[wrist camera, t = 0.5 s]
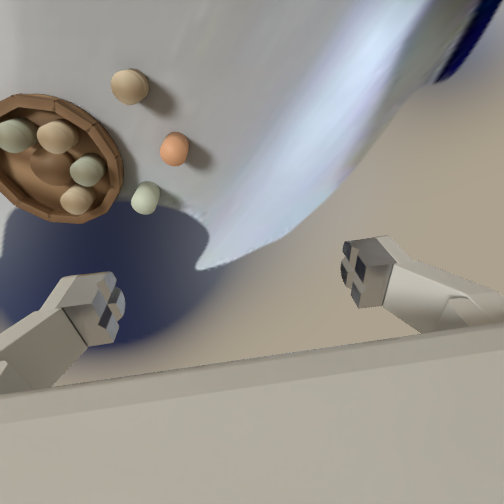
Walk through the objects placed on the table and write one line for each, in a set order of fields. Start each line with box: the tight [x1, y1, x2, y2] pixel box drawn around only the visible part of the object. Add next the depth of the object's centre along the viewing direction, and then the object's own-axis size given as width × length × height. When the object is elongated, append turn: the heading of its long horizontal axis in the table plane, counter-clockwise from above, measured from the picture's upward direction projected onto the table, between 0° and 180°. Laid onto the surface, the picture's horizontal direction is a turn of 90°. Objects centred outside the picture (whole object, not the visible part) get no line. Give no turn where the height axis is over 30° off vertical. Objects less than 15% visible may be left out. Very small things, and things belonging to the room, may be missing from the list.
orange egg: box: [160, 132, 189, 166], centre depth 46 cm, size 4×4×5 cm
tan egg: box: [111, 69, 149, 105], centre depth 41 cm, size 4×4×5 cm
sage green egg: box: [131, 181, 160, 214], centre depth 50 cm, size 4×4×5 cm
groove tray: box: [0, 94, 124, 224], centre depth 45 cm, size 20×20×6 cm
